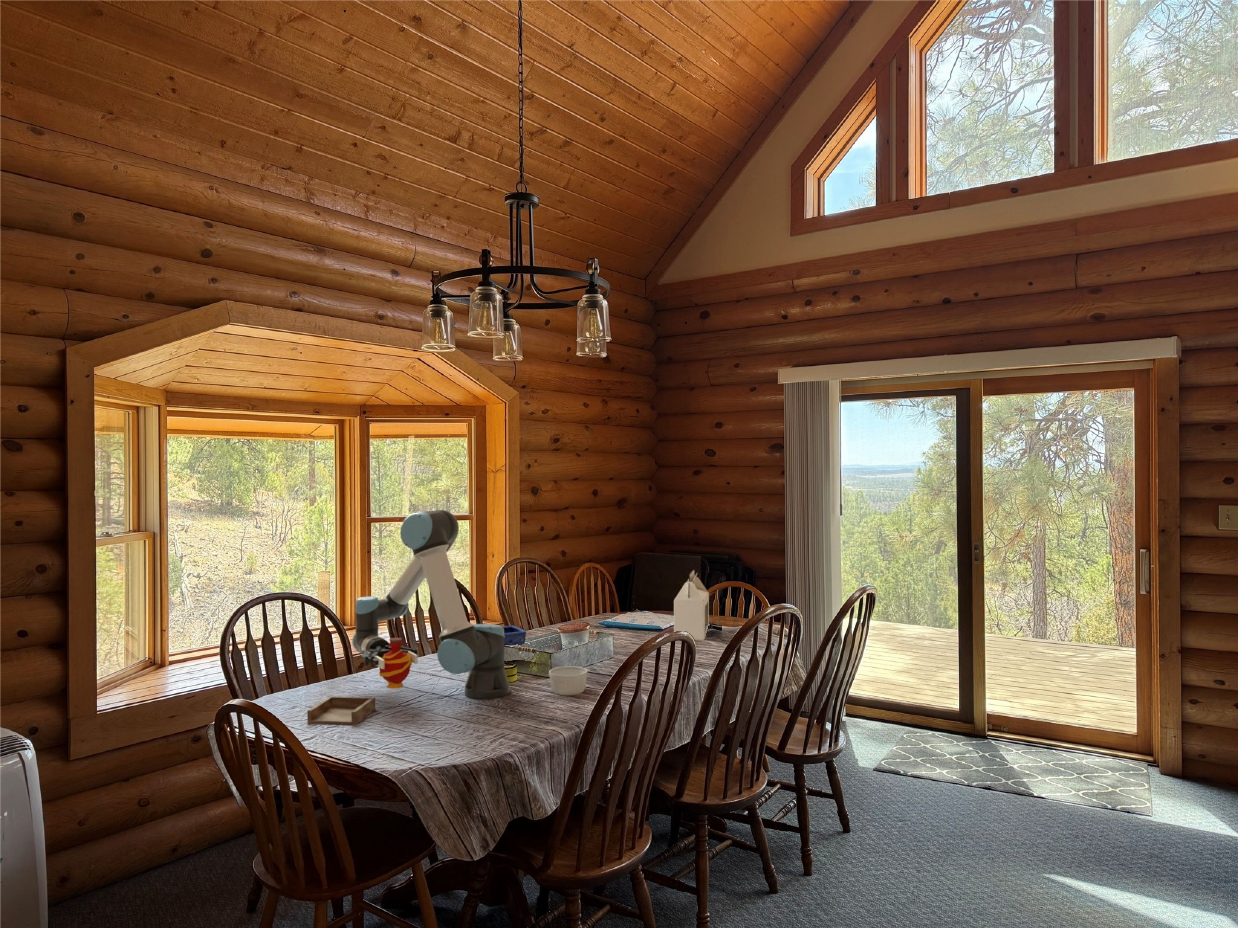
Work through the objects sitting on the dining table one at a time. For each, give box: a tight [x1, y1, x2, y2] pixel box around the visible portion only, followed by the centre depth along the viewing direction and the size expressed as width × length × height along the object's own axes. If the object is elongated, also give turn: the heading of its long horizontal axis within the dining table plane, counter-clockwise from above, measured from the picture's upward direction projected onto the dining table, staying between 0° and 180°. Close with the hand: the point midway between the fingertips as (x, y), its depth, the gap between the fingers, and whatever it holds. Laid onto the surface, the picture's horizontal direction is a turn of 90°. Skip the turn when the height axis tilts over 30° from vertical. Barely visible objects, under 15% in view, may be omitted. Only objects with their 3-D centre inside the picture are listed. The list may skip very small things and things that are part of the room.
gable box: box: [673, 569, 710, 641], centre depth 370 cm, size 22×13×28 cm, turn 168°
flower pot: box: [502, 625, 527, 647], centre depth 325 cm, size 13×13×12 cm
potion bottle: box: [378, 637, 413, 690], centre depth 261 cm, size 10×10×15 cm
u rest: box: [306, 695, 376, 726], centre depth 254 cm, size 15×15×4 cm
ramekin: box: [548, 665, 588, 696], centre depth 282 cm, size 13×13×7 cm
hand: (400, 661), depth 257 cm, fingers closed on potion bottle, 10 cm apart
